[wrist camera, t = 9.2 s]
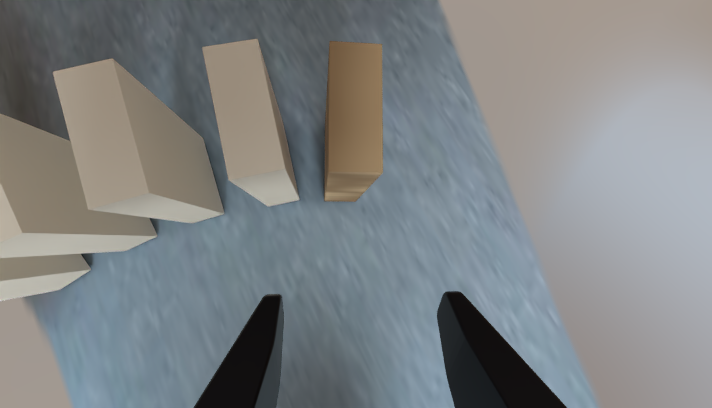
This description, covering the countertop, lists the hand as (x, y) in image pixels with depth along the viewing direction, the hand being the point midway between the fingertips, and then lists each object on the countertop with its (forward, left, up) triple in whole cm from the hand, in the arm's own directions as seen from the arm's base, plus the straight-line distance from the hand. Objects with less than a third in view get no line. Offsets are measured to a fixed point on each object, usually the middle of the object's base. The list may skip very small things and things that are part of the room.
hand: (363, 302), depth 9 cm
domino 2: (+8, +11, -14) cm, 19 cm away
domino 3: (+8, +6, -14) cm, 17 cm away
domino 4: (+7, +1, -14) cm, 16 cm away
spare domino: (+6, -3, -14) cm, 15 cm away
